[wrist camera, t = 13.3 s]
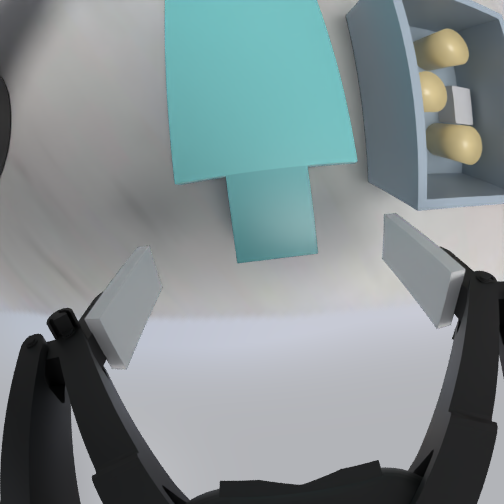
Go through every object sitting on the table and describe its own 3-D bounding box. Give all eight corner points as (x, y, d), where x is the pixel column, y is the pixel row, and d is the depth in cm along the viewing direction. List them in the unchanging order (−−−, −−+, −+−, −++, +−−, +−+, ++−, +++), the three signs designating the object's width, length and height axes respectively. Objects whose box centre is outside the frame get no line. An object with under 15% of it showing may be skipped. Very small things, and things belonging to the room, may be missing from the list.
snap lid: (342, 237, 22) (367, 247, 16) (206, 253, 22) (187, 269, 17) (295, -2, 19) (300, -41, 13) (183, 13, 19) (165, -23, 14)
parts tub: (461, 177, 20) (520, 202, 13) (368, 182, 21) (417, 210, 14) (445, 32, 15) (501, 14, 7) (345, 15, 16) (384, -26, 8)
